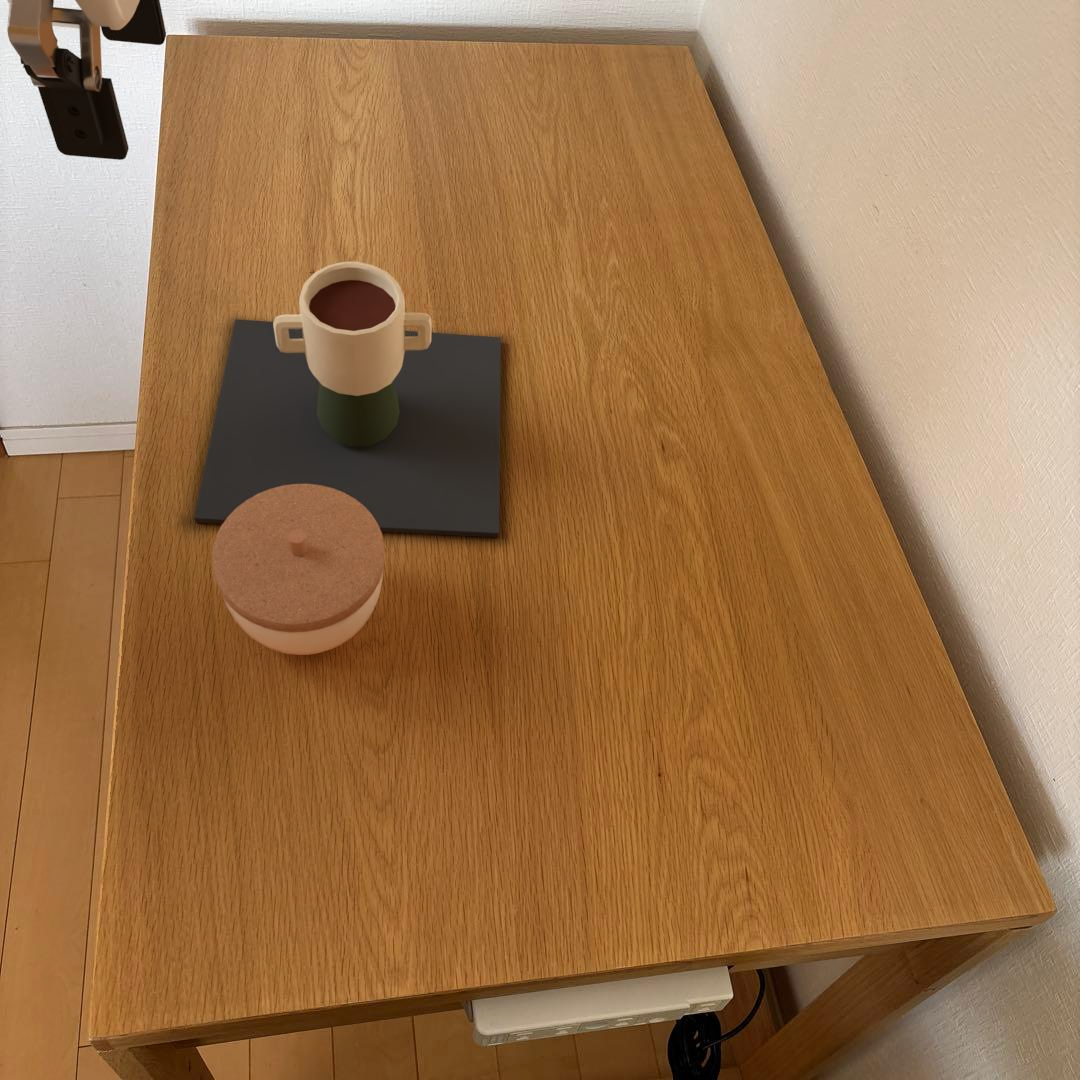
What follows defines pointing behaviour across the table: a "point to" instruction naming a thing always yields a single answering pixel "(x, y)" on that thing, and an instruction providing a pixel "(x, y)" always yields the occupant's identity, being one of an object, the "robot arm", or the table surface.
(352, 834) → the table surface
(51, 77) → the robot arm
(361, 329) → the character mug
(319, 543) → the trinket box
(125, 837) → the table surface
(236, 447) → the mat
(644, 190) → the table surface
